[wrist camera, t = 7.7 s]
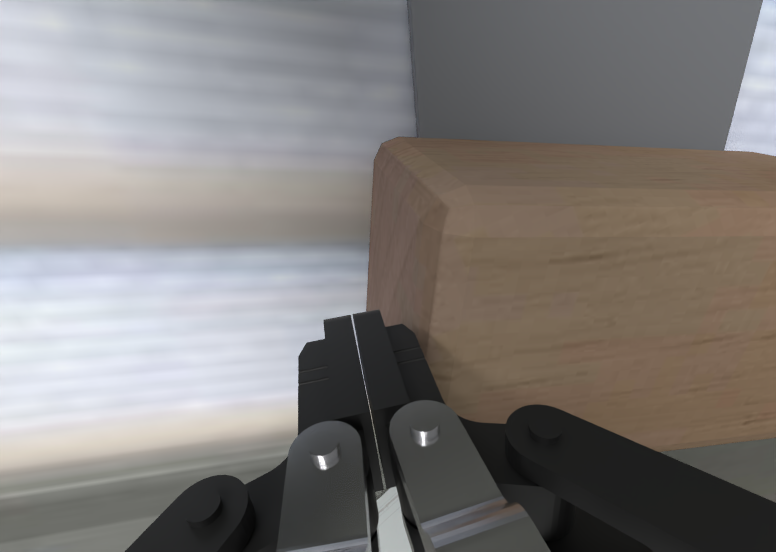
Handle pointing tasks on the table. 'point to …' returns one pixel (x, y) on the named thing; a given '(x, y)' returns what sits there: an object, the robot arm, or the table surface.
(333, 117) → the table surface
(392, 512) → the supplement box
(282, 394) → the table surface
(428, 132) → the mat
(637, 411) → the block
